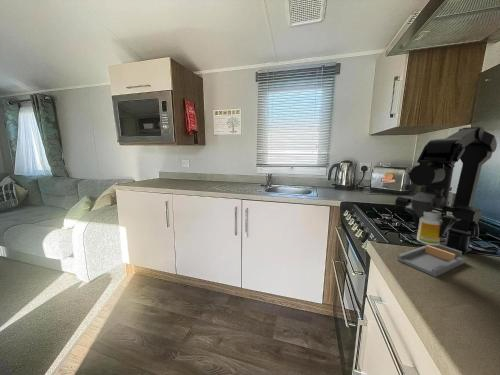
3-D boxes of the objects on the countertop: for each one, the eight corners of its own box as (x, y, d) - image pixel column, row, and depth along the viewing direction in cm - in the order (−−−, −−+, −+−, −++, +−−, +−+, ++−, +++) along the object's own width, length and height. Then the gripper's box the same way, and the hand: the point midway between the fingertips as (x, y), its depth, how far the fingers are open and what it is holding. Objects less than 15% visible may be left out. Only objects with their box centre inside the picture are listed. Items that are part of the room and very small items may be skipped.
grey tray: (426, 249, 74) (428, 240, 73) (464, 262, 65) (466, 253, 65) (397, 260, 66) (398, 250, 66) (435, 276, 57) (437, 265, 57)
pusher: (426, 251, 71) (427, 244, 71) (454, 261, 65) (455, 254, 64) (424, 252, 71) (425, 245, 70) (452, 262, 64) (453, 254, 64)
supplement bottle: (444, 246, 60) (449, 214, 58) (423, 244, 61) (428, 213, 59) (431, 239, 65) (436, 209, 63) (412, 237, 66) (417, 208, 64)
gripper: (387, 180, 65) (381, 227, 67) (469, 191, 48) (457, 252, 51) (407, 179, 69) (401, 223, 72) (488, 187, 53) (476, 244, 55)
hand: (428, 233), depth 62 cm, fingers closed on supplement bottle, 5 cm apart
